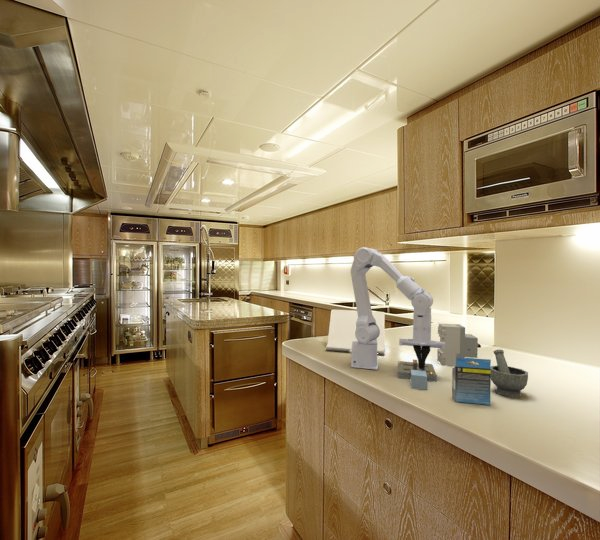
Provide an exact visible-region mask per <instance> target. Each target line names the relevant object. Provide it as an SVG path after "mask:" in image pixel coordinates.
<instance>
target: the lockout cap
mask: <svg viewBox="0 0 600 540" xmlns="http://www.w3.org/2000/svg"><path fill="white" fill-rule="evenodd" d="M410 387H411V389H416V390H423V389H424V391H427V390H428V381H427V374H426V371H420V370H411V379H410Z"/></svg>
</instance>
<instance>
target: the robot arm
mask: <svg viewBox="0 0 600 540" xmlns="http://www.w3.org/2000/svg"><path fill="white" fill-rule="evenodd" d="M372 267H378V268H380V269H381V270H383V272H385V273H386V274H387V276H389V277H390V278H391V279H393V280H394V281H395V282H396V289H398V290H399V291H400V292H401V293H402V295H404V296H405V298H407V299H408V300H409V301H410V303H411V306H412V307H413V314H412V315H413V316H412V318H413V319H412V338H399V340H398V341H399V343H398V346H408V347H413V351H414V353H415V355H416V358H417V359H416V360H417V363H419V369H423V368H424V363H425V364H426V360H427V358H428V356H429V354H430V352H431V349H432V348H434V349H440V348H441V349H445V342H440V341H437V340H432V306H433V304H434V297H433V296H432V294H431V293H430V292H428V291H426V289H425V288H423V287H421V286H420V285H419V284H418V283H416V282H415V280H416V279H415V278H414V277H413V276H411V277H410V275H403V274H402V273H401V271H399V269H398V268H397V267H395V265H394V264H392V262H391V261H390V260H389V259H388V258H387V257H386V256H385V255H384V254H383V253H381V252H380V251H379V250H378V249H376V248H369V247H367V246H362V247H360V248H358V249H357V250H356V251H355V253H353V261H352V264H351V268H350V276H351V282H352V288H353V295H354V300H355V306H356V311H357V313H358V319H357V321H356V331H355V336H356V338H357V340H358V341H353V342H352V352H350V353H351V356H350V367H351V368H356V369H357V368H358V369H366V370H367V369H368V370H378V368H379V362H378V354H377V338H378V336H379V335H380V329H379V327H378V325H377V324H376V320H375V318H374V317H373V315H372V311H373V310H372V306H371V300H370V295H369V288H368V282H367V277H366V276H367V275H366V274H367V273H368V272H369V270H370V269H371V268H372Z"/></svg>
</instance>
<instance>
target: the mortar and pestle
mask: <svg viewBox="0 0 600 540" xmlns="http://www.w3.org/2000/svg"><path fill="white" fill-rule="evenodd" d="M504 353H505V351H504V350H503V349H495V350H493V354H494V355H495V360H496V365H490V369H491V381H492V383H493V385H494V386H495V387H496V390H495V391H496V393H497V394H498V395H501V396H503V397H507V398H516V399H517V398H520V397H521V391H522V390H524V389H525V388H526V386H527V385H528V380H529V371H526V370H524V369H521V368H518V367H513V366H508V362H507V360H506V358H505V355H504Z"/></svg>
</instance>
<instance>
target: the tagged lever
mask: <svg viewBox="0 0 600 540" xmlns="http://www.w3.org/2000/svg"><path fill="white" fill-rule="evenodd" d="M412 362H413V370H417V363H418V359H412Z"/></svg>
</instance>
